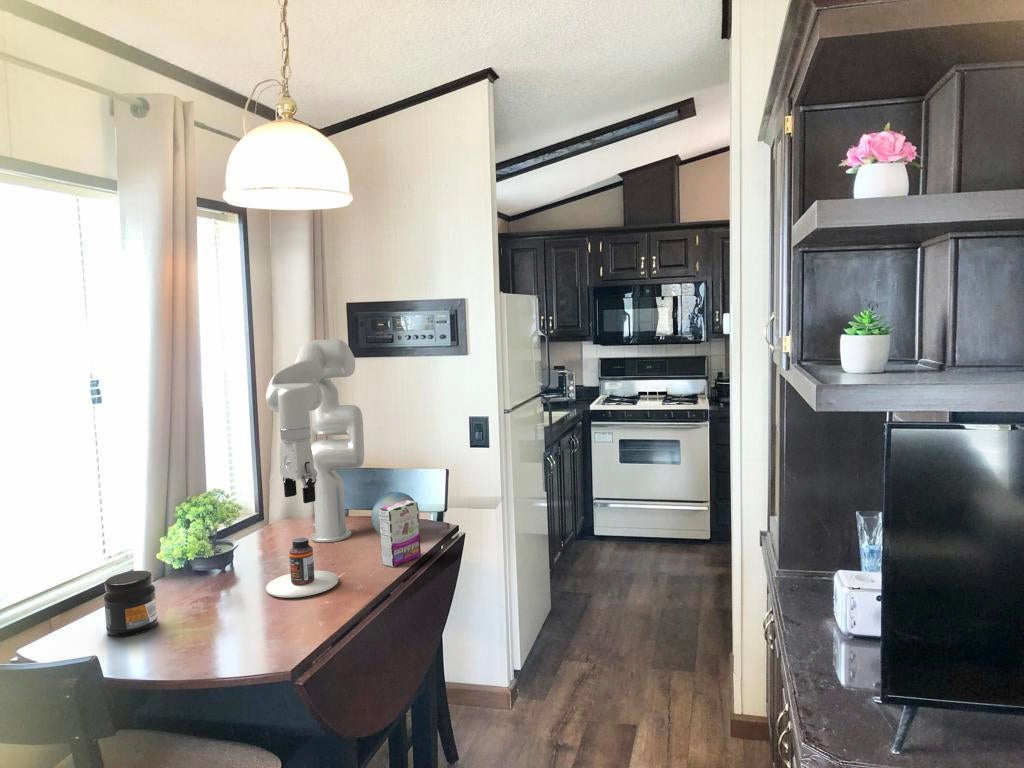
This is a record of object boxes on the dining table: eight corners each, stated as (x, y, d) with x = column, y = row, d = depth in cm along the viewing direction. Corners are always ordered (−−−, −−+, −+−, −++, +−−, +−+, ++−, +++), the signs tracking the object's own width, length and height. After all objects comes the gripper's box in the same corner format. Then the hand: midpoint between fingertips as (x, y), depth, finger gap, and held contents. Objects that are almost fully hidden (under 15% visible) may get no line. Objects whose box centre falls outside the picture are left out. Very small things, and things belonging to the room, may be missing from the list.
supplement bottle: (286, 584, 185) (283, 541, 184) (303, 576, 190) (300, 535, 189) (303, 587, 182) (300, 543, 181) (319, 579, 187) (316, 537, 187)
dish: (254, 588, 186) (253, 584, 186) (315, 570, 199) (315, 565, 199) (288, 605, 173) (287, 600, 173) (351, 584, 186) (351, 580, 186)
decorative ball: (426, 532, 232) (423, 486, 231) (413, 546, 217) (410, 498, 216) (381, 532, 234) (379, 487, 233) (365, 546, 219) (363, 498, 218)
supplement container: (164, 627, 163) (160, 576, 162) (113, 642, 156) (109, 589, 155) (150, 615, 171) (146, 566, 170) (100, 629, 164) (96, 578, 163)
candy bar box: (409, 554, 210) (406, 499, 209) (421, 556, 207) (418, 501, 206) (380, 565, 201) (377, 507, 200) (393, 568, 198) (390, 510, 197)
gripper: (266, 433, 188) (270, 497, 190) (299, 439, 176) (303, 507, 178) (292, 429, 193) (296, 491, 195) (326, 435, 181) (330, 501, 183)
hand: (300, 499), depth 186 cm, fingers open, 9 cm apart
